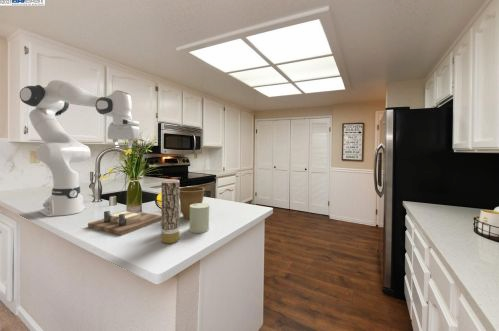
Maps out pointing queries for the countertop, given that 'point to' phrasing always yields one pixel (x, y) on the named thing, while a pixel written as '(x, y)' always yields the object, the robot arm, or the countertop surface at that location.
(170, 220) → the grey patterned cylinder
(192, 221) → the can
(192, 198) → the plant pot
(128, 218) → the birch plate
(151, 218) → the board
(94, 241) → the countertop surface
